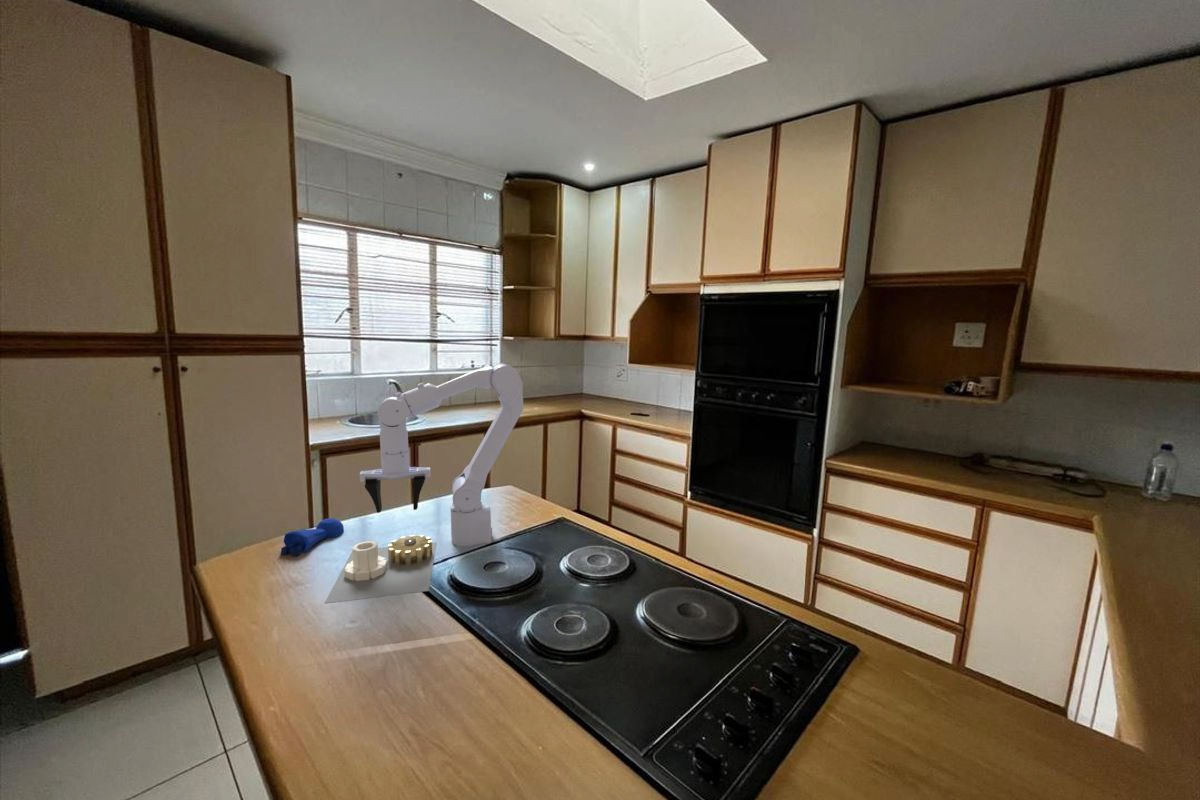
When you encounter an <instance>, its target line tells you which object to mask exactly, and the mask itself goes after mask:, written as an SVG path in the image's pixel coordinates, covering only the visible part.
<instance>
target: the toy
mask: <svg viewBox="0 0 1200 800" xmlns="http://www.w3.org/2000/svg"><path fill="white" fill-rule="evenodd" d="M344 533H345V529H344V524H343V523H342V521H340V520H338V519H336V518H331V517H330V518H325V519H322V520H320V522H318V524H317V525H316V528H312V529H311V528H310V529H299V530H295V531H289V532H286V533H285V534H284V537H283V544H284V546H282V547H281V550H280V555H281V556H287V555H288V554H290V556H291V557H295V558H298V557H299V556H300V553H299V551H301V554H303V553H304V554H305V553H307V552H308V551H309V550H310V549H311V548H312V547H313V546H314V545H315V544H316V543H318V542H320V541H321V540H323V539H333V538H335V539H336V538H337V537H340V536H342V535H343V534H344Z"/></svg>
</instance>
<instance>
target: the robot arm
mask: <svg viewBox="0 0 1200 800" xmlns="http://www.w3.org/2000/svg"><path fill="white" fill-rule="evenodd" d="M523 385H524V383H523V380H522V379H521V376H520V373H519V372H518V370H517V369H516V368H514V367H512V365H511V366H510V365H509V364H507V363H505V362H504V363H503V362H498V363H495V364H493V365H492V366H491V365H488V366H484V367H483V366H482V367H479V368H477V369H474V370H472V371H469V372H467V373H465V374H463V375H460V376H458V377H456V378H453V379H451V380H448V381H447V382H444V383H441V384H439V385H434V384H433V383H429V382H427V383H426V384H424V382H420V383H418V384H417V387H415V388H413V389H410V390H407V391H405V392H402V391H398V392H396V394H395V395H396V396H391V397H387V398H385V399H384V400H383V401H382V402H381V403H380V404H379V405H378V407H377V418H378V419H379V421H380V422H379V429H380V430H379V445H380V464H381V468H378V469H371V470H361V471H360V472H359V483H365V484H364V488H365V491H367V493H368V494H369V495H370V497H371V499H372V501H373V504H374V506H375V511H376V513H377V514H379V513H381V511H382V508H383V505H382V504H383V503H382V495H381V494H382V493H381V482H382V480H383V481H384V480H399V479H400V480H401V479H413V480H412V482H411V483H412V491H413V492H412V493H413V502H412V503H413V504H412V505H413V507H412V508H413V511H416V510H418V508H419V507H418V506H419V498H420V494H421V491H422V488H423V486H424V484H425V482H426V479H430V478H431V475H432V474H431V467H430V466H429V467H420V466H419V467H417V466H410V455H409V453H410V452H409V435H408V434H409V433H408V428H407V418H415V417H417V416H419V415H422V414H424V413H426V412H427V413H428V411H431V410H434V409H437V408H439V407H440V406H441V404H442V401H443V400H444V399H447V398H450V397H452V396H456V395H458V394H461V393H464V392H466V391H469V390H472V389H474V388H480V389H486V390H490V389H491V387H492V388H493V389H494V391H495V392H496V394H497V398H498V400H499V403H500V408H499V410H498V411H497V414H496V415H495V416H494V419H493V420H492V422H491V425H490V426H489V427H488V429H487V431H486V433H485V435H484V437H483V439H482V440H481V442H480V445H479V446H478V448H477V450H476V452H475V453H474V455H473V457H472V458H471V460H470V462H469V464H467V465H466V466H465V468H464V470H463V471H462V472H461V474H459V475H458V476H457V477H455V478H454V479H453V481H452V482H451V483H452V484H451V493H452V503H451V504H450V532H451V533H450V534H451V535H450V537H451V543H452V545H454V546H458V547H470V546H475V545H481V544H490V543H492V536H493V527H492V516H491V515H492V513H491V511H492V510H491V505H490V504H483V503H482V501H481V500H482V492H483V490H484V488H485V487H486V486H485V485H486V482H487V478H488V474H489V473H490V471H491V470H492V467H493V466H494V464H495V462H496V460H497V458H498V457H499V455H500V453H501V452H502V449H503V448H504V445H505V444H506V442H507V440H508V438H509V436H510V435H511V432H512V431H513V429H514V428H515V426H516V424H517V422H518V420H519V418H520V416H521V415H522V413H523V410H524V393H523Z"/></svg>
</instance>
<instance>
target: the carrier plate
mask: <svg viewBox="0 0 1200 800" xmlns="http://www.w3.org/2000/svg"><path fill="white" fill-rule="evenodd" d="M436 548H437V542H432V555H430V558H429V559H428V560H425V559H424V560H422V563H419V564H417V563H412V564H411V565H409V566H406V564H401V565H400V566H398V565H395V562H394V563H390V562H389V558H388V546H386V547H385V546H382V547H378V556H381V557H384V558H386V560H387V569H386V572H384V574H381V575H379V576H377V577H375V578H373V579H372V578H370V579H369V580H361V581H356V580H353V581H352V580H350V579H348V578H346V577H345V571H344V569H345V567H346V565H347V564H348V563H350V562H351V561H353V550H352V551H351V553H350V555H349V556H348V559H347V560H346V562H345V564H344V566H343V568H342V569H341V571H340V573H339V576H337V579H336V581H335V582H334V584H333V587H332V588H331V590H330V592H329V594H328V596H327V598H326V600H325V602H324V604H330V603H339V602H340V603H341V602H346V601H348V602H349V601H356V600H362V599H363V600H365V599H371V598H380V597H388V596H389V597H390V596H398V595H405V594H406V595H407V594H414V593H422V592H424V593H425V592H429V591H430V586H431V585H430V584H431V579H432V573H433V567H434V561H435V555H436Z"/></svg>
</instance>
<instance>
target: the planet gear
mask: <svg viewBox="0 0 1200 800" xmlns="http://www.w3.org/2000/svg"><path fill="white" fill-rule="evenodd" d="M378 548H379V546H378V542H375V541H373V540H369V541H362V542H359V543H356V544H354V545H353V547H352V551H353V561H351V562H350V563H348V564H347V565H346V567H345V569H344V571H345V577H346V578H348V579H350V580H352V581H353V580H356V581H361V580H369V579H370V578H372V579H373V578H375V577H377V576H379V575H381V574H384V572H386V569H387V560H386V558H384V557H381V556H378Z"/></svg>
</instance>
